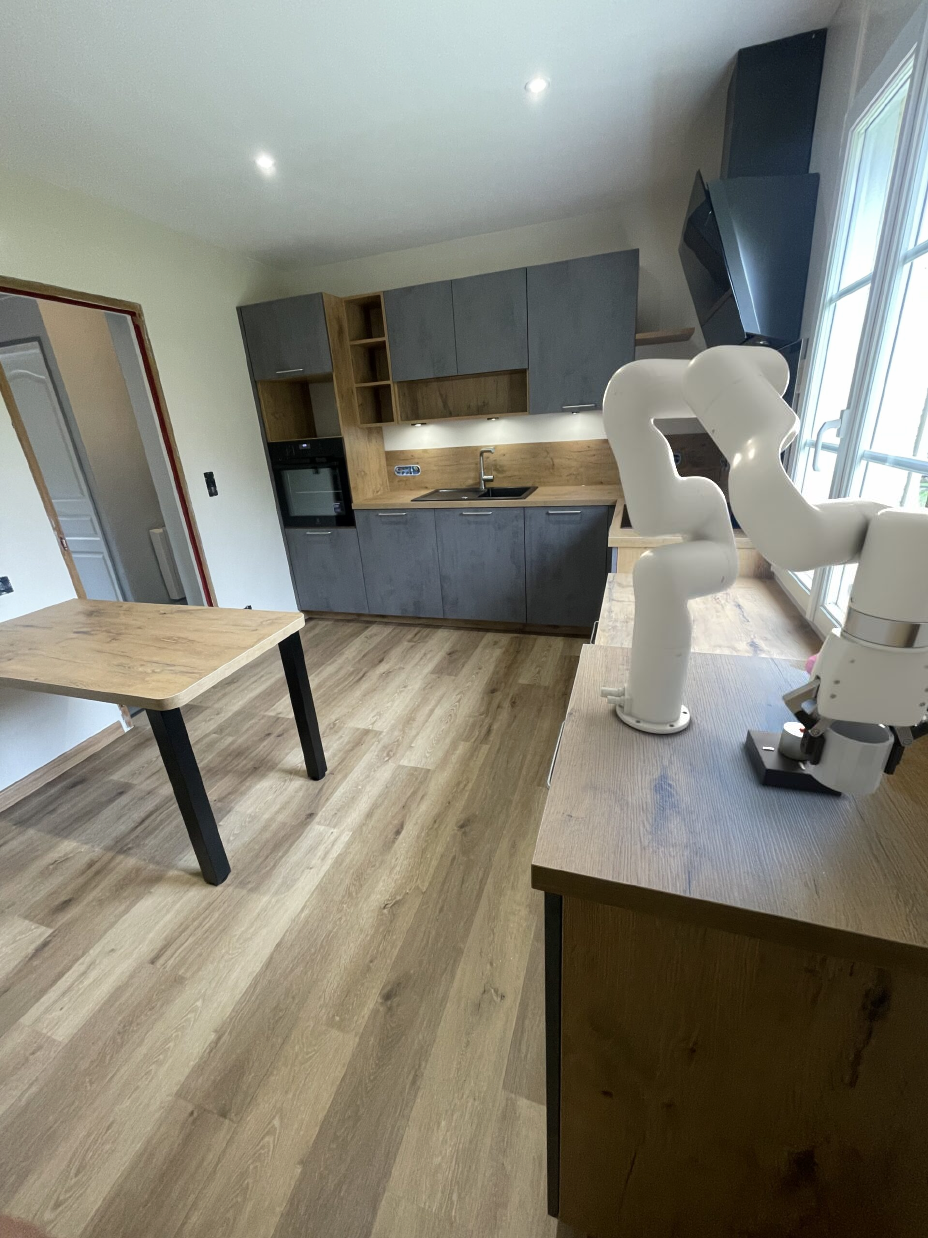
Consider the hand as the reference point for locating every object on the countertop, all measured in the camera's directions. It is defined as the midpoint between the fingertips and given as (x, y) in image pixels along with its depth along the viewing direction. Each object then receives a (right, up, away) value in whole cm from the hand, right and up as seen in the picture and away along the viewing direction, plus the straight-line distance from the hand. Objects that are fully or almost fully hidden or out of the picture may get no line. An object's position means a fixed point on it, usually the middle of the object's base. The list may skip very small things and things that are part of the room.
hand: (845, 761), depth 58 cm
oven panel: (+4, -6, +16) cm, 17 cm away
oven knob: (+4, -3, +15) cm, 15 cm away
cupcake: (+22, +2, +33) cm, 40 cm away
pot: (0, -2, +1) cm, 2 cm away
